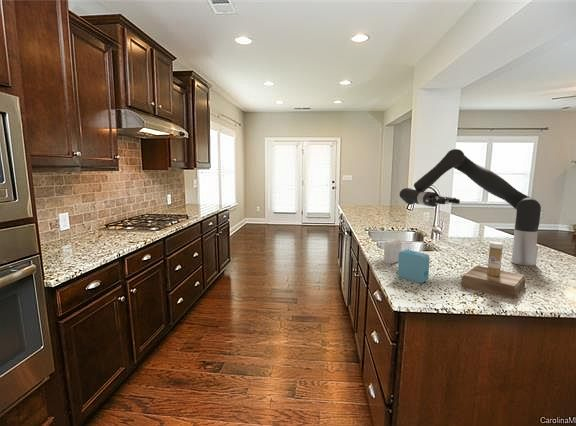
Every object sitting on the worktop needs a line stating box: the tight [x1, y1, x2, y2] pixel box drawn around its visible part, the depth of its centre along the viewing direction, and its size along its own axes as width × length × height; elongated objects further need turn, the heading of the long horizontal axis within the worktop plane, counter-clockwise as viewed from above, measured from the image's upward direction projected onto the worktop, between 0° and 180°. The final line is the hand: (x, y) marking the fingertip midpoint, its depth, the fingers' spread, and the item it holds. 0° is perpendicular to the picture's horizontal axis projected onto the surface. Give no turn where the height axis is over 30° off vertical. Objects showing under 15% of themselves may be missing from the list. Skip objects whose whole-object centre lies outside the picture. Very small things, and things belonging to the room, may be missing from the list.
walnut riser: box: [460, 265, 526, 301], centre depth 126 cm, size 18×18×5 cm
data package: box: [397, 249, 430, 284], centre depth 135 cm, size 12×4×12 cm, turn 40°
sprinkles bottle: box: [487, 241, 504, 276], centre depth 125 cm, size 5×5×13 cm
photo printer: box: [383, 238, 403, 265], centre depth 159 cm, size 10×4×12 cm, turn 123°
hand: (452, 201), depth 149 cm, fingers open, 8 cm apart
